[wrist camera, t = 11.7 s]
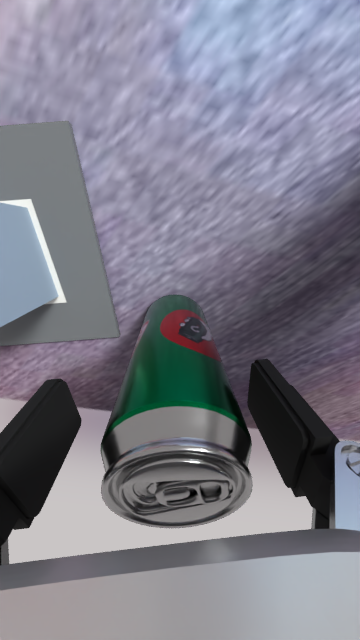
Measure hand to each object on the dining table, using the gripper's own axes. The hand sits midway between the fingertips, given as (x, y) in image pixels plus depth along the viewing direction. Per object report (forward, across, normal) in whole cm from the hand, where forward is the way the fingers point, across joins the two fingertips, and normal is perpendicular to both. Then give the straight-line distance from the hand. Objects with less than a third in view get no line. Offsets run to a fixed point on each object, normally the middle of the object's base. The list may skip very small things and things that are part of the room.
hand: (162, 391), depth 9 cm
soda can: (+8, -1, -1) cm, 8 cm away
